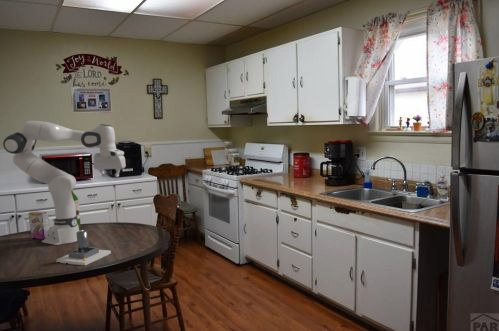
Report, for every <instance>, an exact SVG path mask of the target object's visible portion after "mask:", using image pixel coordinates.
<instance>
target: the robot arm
mask: <svg viewBox="0 0 499 331" xmlns="http://www.w3.org/2000/svg"><path fill="white" fill-rule="evenodd" d="M37 141H41V142H48V143H53V142H54V143H55V142H64V141H74V142H80V143H81V144H82V145H83V146H84V147H85V148H88V149H93V148H94V149H95V148H99V152H96V153H95V154H94V155H93V168H94V169H95V170H99V172H100V174H101V177H102V178H104V177H105V178H106V176H107V175H106V173H105V170H115V173H114V177H115V178H118V177H120V173H121V172H120V171H121V170H122V169H125V168H126V166H127V165H126V158H125V156H124V155H125V152H124V151H123V150H120V149H118V148H117V144H116V133H115V129H114V126H112V125H110V124H105V123H103V124H102V123H101V124H99V125H98V126H96V127H95V128H93V129H90V130H87V131H84V130H78V129H73V128H72V129H71V128H68V127H65V126H62V125H60V124H57V123H55V122H54V123H53V122H49V121H42V120H27V121H25V123H23V126H22V129H21V131H17V132H16V131H15V132H13V133H12V134H10V135H8V136H6V137H5V138H4V140H3V142H2V146H3V149H4V150H5V151H6V152H8V153H9V154H14V155H13V157H12V163H13V164H14V165H15V166H16V167H17V168H18V169H19V170H21V171H22V172H24V173H25V174H27V175H28V176H30V177H31V178H33V179H35V180H37V181H38V182H40V183H44V184H46V185H48V186H47V188H48V191H49V193H50V195H51V199H52V202H53V206H54V215H55V218H53V219H52V222H53V225H52V226H50V229H49V230H48V231H47V232H46V239H44V240H43V239H41V243H45V244H49V245H53V246H58V245H64V244H66V245H67V244H70V243H71V244H72V243H76V242H77V234H76V232H78V231H80V229H79V226H78V224H77V222H78V218H77V215H76V207H75V202H74V200H73V197H72V193H71V191H72V190H74V189H75V187H76V185H77V180H76V178H75V176H74V175H72V174H69V173H67V172H66V171H64V170H61V169H59V168H58V167H56V166H54V165H51V164H50V163H48V162H47V161H45V160H44V159H42V158H40V157H39V156H38V155H35V154H34V153H33V151H34V150H35V146H36V144H37Z"/></svg>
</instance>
